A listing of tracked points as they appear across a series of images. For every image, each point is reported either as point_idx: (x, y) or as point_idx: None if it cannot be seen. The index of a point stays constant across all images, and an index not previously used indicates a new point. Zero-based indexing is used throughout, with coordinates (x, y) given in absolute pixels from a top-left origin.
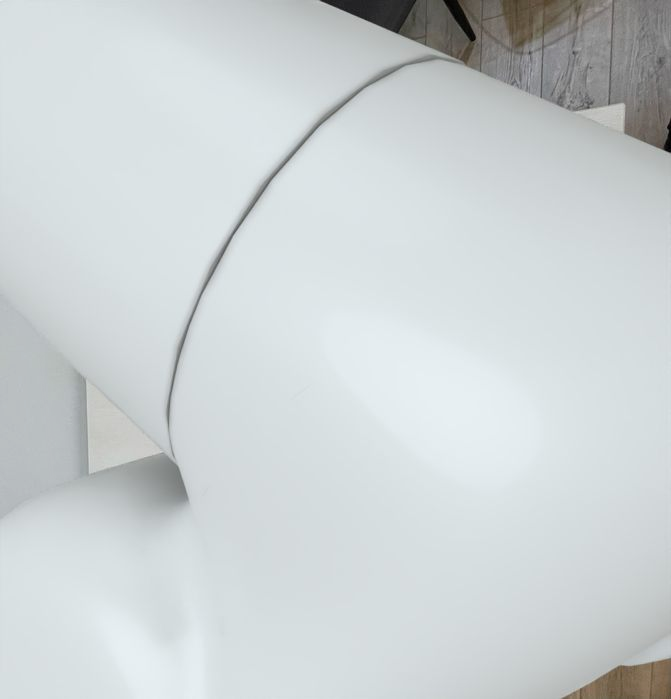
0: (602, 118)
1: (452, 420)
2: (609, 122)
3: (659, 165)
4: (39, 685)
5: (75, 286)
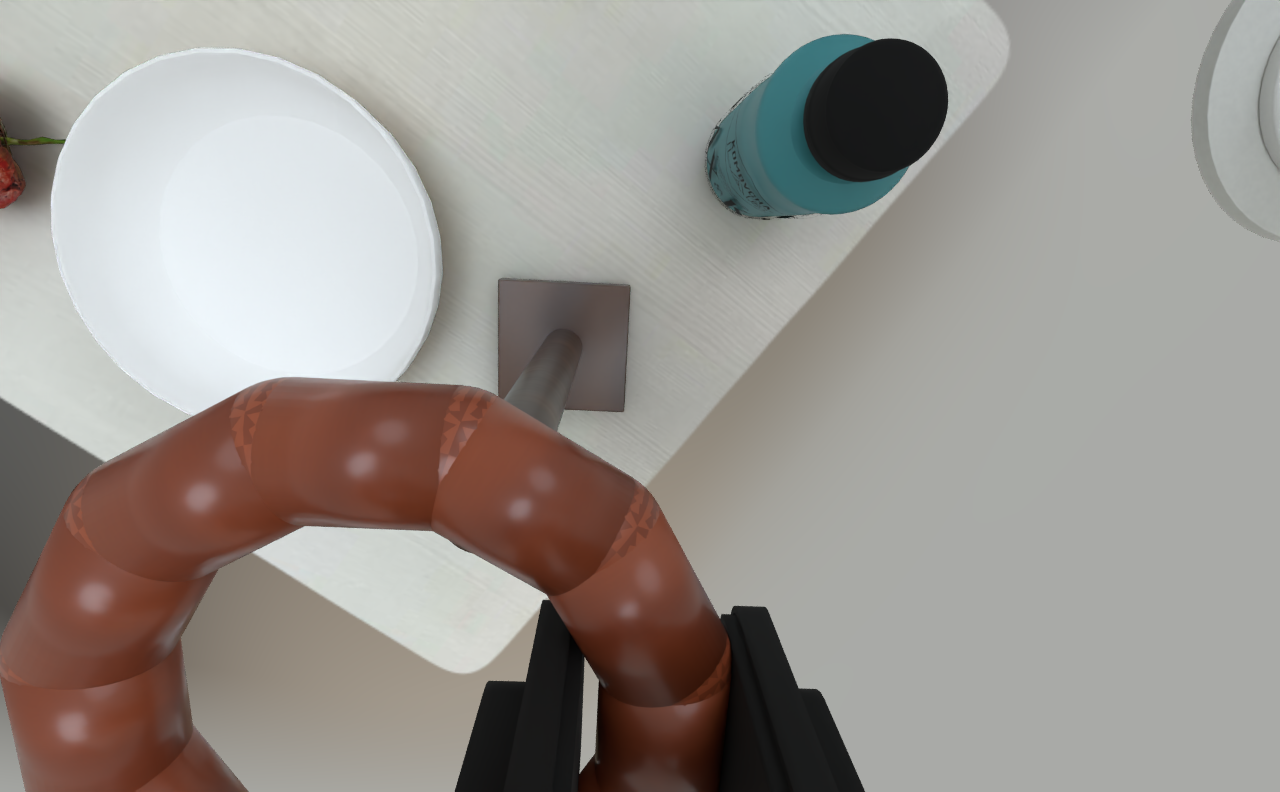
0: (1006, 34)
1: None
2: (1008, 50)
3: None
4: None
5: None
